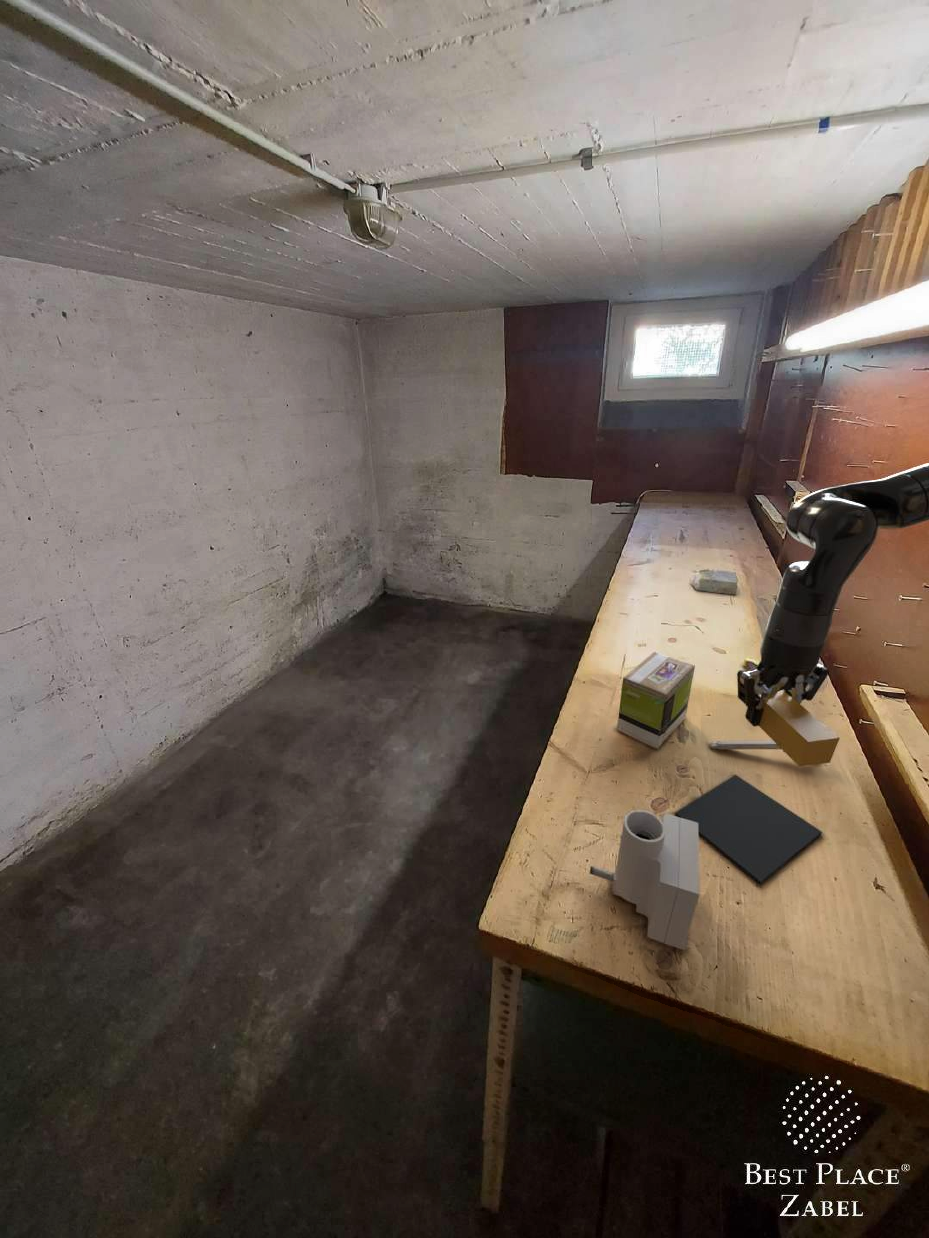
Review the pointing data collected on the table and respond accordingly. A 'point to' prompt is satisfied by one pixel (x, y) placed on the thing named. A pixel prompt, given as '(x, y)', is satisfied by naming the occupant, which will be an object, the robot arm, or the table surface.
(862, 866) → the table surface
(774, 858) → the mat
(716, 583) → the geological specimen
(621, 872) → the grey pipe housing
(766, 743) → the caliper
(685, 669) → the tea box
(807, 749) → the post
